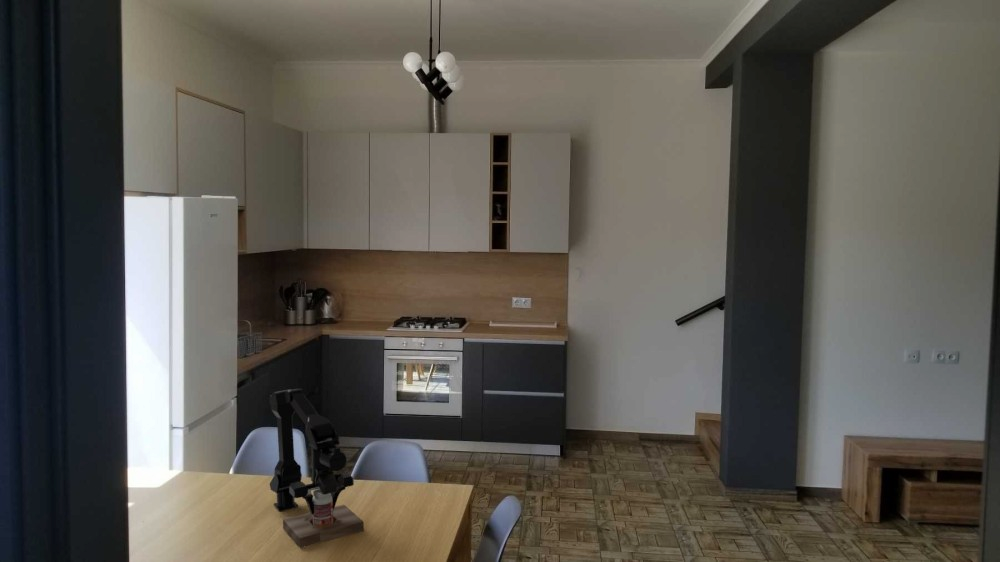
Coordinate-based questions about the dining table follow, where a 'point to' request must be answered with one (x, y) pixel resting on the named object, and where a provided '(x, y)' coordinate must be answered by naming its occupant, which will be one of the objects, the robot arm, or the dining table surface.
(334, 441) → the robot arm
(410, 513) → the dining table surface
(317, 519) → the pill bottle
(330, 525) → the socket board
